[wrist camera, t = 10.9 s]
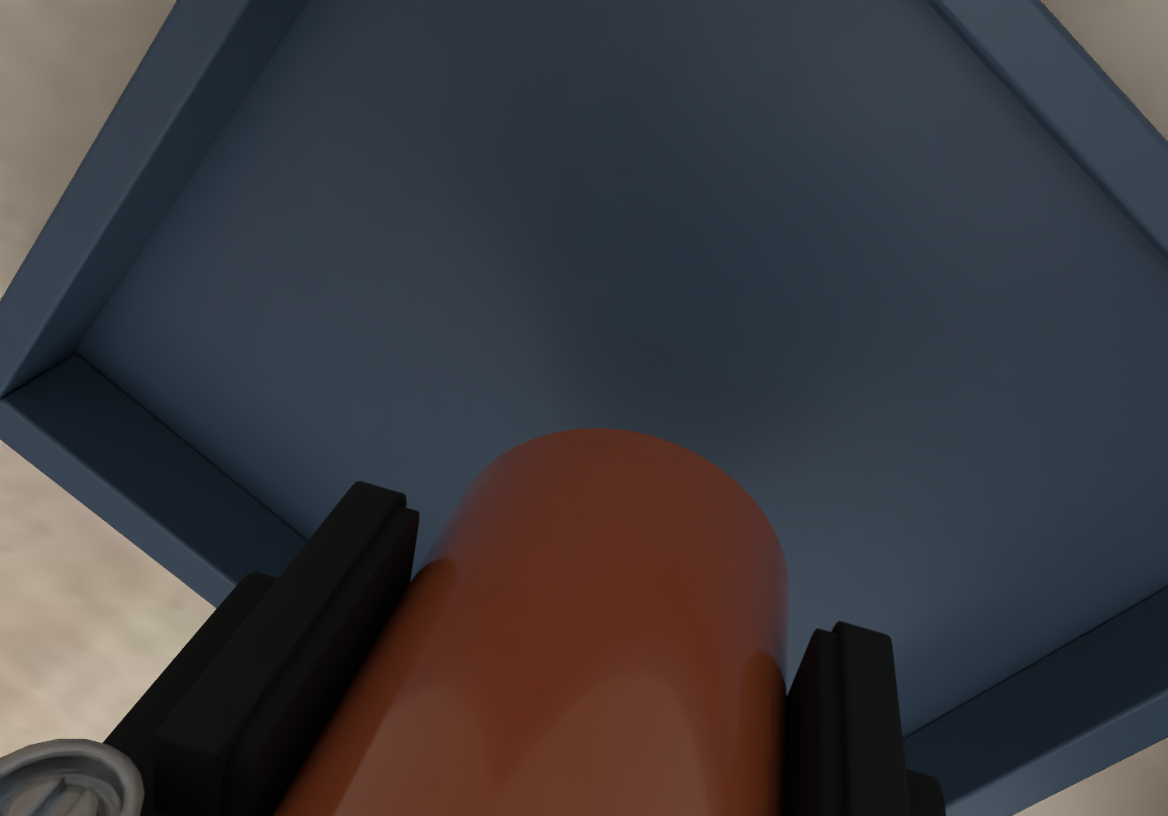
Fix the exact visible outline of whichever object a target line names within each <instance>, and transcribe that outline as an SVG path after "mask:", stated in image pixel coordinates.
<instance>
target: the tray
mask: <svg viewBox="0 0 1168 816" xmlns="http://www.w3.org/2000/svg"><path fill="white" fill-rule="evenodd" d="M580 428H611V429H621V430H630V431H634V432H639V433H643V434H648V435H652V436H655V437H658V438H661V439H664V440H667V441H670V442H673V443H676V444H678V445H680V446H682V447H684V448H686V449H688V450H691V451H693V452H695V453H697V454H699V455H700V456H702V457H703V458H705V459H707V460H708V461H710V462H711V463H713V464H715V465H716V466H718V467H719V468H720V469H722V470H723V471H724V472H725V473H726V474H728V475H729V476H730V477H731V478H733V479H734V480H735V481H736V482H737V483H738V484H739V485H740V486H741V487H742V488H743V489H744V490H745V491H746V492H747V493H748V494H749V495H750V496H751V497H752V498H753V499H754V501H755V502H756V503H757V505H758V506H759V507H760V509H761V510H762V511H763V513H764V514H765V516H766V517H767V518H768V520H769V522H770V524H771V526H772V528H773V529H774V531H775V533H776V535H777V537H778V539H779V542H780V545H781V547H782V550H783V553H784V556H785V559H786V564H787V569H788V574H789V588H790V608H789V640H788V672H787V695H788V692H789V690H790V688H791V685H792V683H793V680H794V678H795V675H796V673H797V670H798V668H799V666H800V663H801V661H802V658H803V656H804V653H805V651H806V648H807V646H808V643H809V641H810V639H811V636H812V634H813V632H814V631H815V629H817V628H819V629H823V630H826V631H830V632H831V631H832V629H833V627H834V625H835V624H836V623H837V622H838V621H843V622H846V623H849V624H853V625H856V626H860V627H863V628H867V629H870V630H873V631H877V632H880V633H884V634H887V635H889V636H890V637H891V641H892V646H893V655H894V664H895V674H896V683H897V692H898V701H899V710H900V719H901V729H902V738H903V747H904V756H905V765H906V768H907V769H910V770H914V771H917V772H920V773H924V774H927V775H930V776H933V777H936V779H937V780H938V782H939V783H940V785H941V789H942V793H943V797H944V803H945V809H946V816H1012V815H1014V814H1016V813H1018V812H1020V811H1022V810H1024V809H1026V808H1028V807H1030V806H1032V805H1034V804H1036V803H1038V802H1040V801H1042V800H1044V799H1046V798H1048V797H1050V796H1052V795H1054V794H1056V793H1058V792H1060V791H1062V790H1064V789H1066V788H1068V787H1070V786H1072V785H1074V784H1076V783H1078V782H1080V781H1082V780H1084V779H1086V778H1088V777H1090V776H1092V775H1094V774H1096V773H1098V772H1100V771H1102V770H1104V769H1106V768H1108V767H1110V766H1112V765H1114V764H1115V763H1117V762H1119V761H1121V760H1123V759H1125V758H1127V757H1129V756H1131V755H1133V754H1135V753H1137V752H1139V751H1141V750H1143V749H1145V748H1147V747H1149V746H1151V745H1153V744H1155V743H1157V742H1159V741H1161V740H1163V739H1165V738H1167V737H1168V142H1167V141H1166V140H1165V138H1164V137H1163V136H1162V135H1161V134H1160V133H1159V132H1158V131H1157V130H1156V128H1155V127H1154V126H1153V125H1152V124H1151V123H1150V122H1149V121H1148V120H1147V118H1146V117H1145V116H1144V115H1143V114H1142V113H1141V112H1140V111H1139V110H1138V108H1137V107H1136V106H1135V105H1134V104H1133V103H1132V102H1131V101H1130V100H1129V98H1128V97H1127V96H1126V95H1125V94H1124V93H1123V92H1122V91H1121V90H1120V88H1119V87H1118V86H1117V85H1116V84H1115V83H1114V82H1113V81H1112V80H1111V78H1110V77H1109V76H1108V75H1107V74H1106V73H1105V72H1104V71H1103V70H1102V68H1101V67H1100V66H1099V65H1098V64H1097V63H1096V62H1095V61H1094V60H1093V58H1092V57H1091V56H1090V55H1089V54H1088V53H1087V52H1086V51H1085V50H1084V48H1083V47H1082V46H1081V45H1080V44H1079V43H1078V42H1077V41H1076V40H1075V38H1074V37H1073V36H1072V35H1071V34H1070V33H1069V32H1068V31H1067V30H1066V28H1065V27H1064V26H1063V25H1062V24H1061V23H1060V22H1059V21H1058V20H1057V18H1056V17H1055V16H1054V15H1053V14H1052V13H1051V12H1050V11H1049V10H1048V8H1047V7H1046V6H1045V5H1044V4H1043V3H1042V2H1041V1H1040V0H177V2H176V3H175V5H174V7H173V8H172V10H171V12H170V13H169V15H168V17H167V19H166V20H165V22H164V24H163V25H162V27H161V29H160V30H159V32H158V34H157V36H156V37H155V39H154V41H153V42H152V44H151V46H150V47H149V49H148V51H147V53H146V54H145V56H144V58H143V59H142V61H141V63H140V64H139V66H138V68H137V70H136V71H135V73H134V75H133V76H132V78H131V80H130V81H129V83H128V85H127V87H126V88H125V90H124V92H123V93H122V95H121V97H120V98H119V100H118V102H117V104H116V105H115V107H114V109H113V110H112V112H111V114H110V115H109V117H108V119H107V121H106V122H105V124H104V126H103V127H102V129H101V131H100V132H99V134H98V136H97V137H96V139H95V141H94V143H93V144H92V146H91V148H90V149H89V151H88V153H87V154H86V156H85V158H84V160H83V161H82V163H81V165H80V166H79V168H78V170H77V171H76V173H75V175H74V177H73V178H72V180H71V182H70V183H69V185H68V187H67V188H66V190H65V192H64V194H63V195H62V197H61V199H60V200H59V202H58V204H57V205H56V207H55V209H54V211H53V212H52V214H51V216H50V217H49V219H48V221H47V222H46V224H45V226H44V228H43V229H42V231H41V233H40V234H39V236H38V238H37V239H36V241H35V243H34V245H33V246H32V248H31V250H30V251H29V253H28V255H27V256H26V258H25V260H24V262H23V263H22V265H21V267H20V268H19V270H18V272H17V273H16V275H15V277H14V279H13V280H12V282H11V284H10V285H9V287H8V289H7V290H6V292H5V294H4V296H3V297H2V299H1V301H0V440H2V441H3V442H4V443H6V444H7V445H8V446H9V447H11V448H12V449H13V450H15V451H16V452H17V453H18V454H20V455H21V456H22V457H23V458H25V459H26V460H27V461H29V462H30V463H31V464H32V465H34V466H35V467H36V468H38V469H39V470H40V471H41V472H43V473H44V474H45V475H47V476H48V477H49V478H50V479H52V480H53V481H54V482H55V483H57V484H58V485H59V486H61V487H62V488H63V489H64V490H66V491H67V492H68V493H70V494H71V495H72V496H73V497H75V498H76V499H77V500H78V501H80V502H81V503H82V504H84V505H85V506H86V507H87V508H89V509H90V510H91V511H93V512H94V513H95V514H96V515H98V516H99V517H100V518H102V519H103V520H104V521H105V522H107V523H108V524H109V525H110V526H112V527H113V528H114V529H116V530H117V531H118V532H119V533H121V534H122V535H123V536H125V537H126V538H127V539H128V540H130V541H131V542H132V543H134V544H135V545H136V546H137V547H139V548H140V549H141V550H142V551H144V552H145V553H146V554H148V555H149V556H150V557H151V558H153V559H154V560H155V561H157V562H158V563H159V564H160V565H162V566H163V567H164V568H166V569H167V570H168V571H169V572H171V573H172V574H173V575H174V576H176V577H177V578H178V579H180V580H181V581H182V582H183V583H185V584H186V585H187V586H189V587H190V588H191V589H192V590H194V591H195V592H196V593H198V594H199V595H200V596H201V597H203V598H204V599H205V600H206V601H208V602H209V603H210V604H212V605H213V606H214V607H215V608H218V607H219V605H220V604H221V603H222V602H223V601H224V600H225V598H226V597H227V596H228V595H229V594H230V593H231V591H232V590H233V589H234V588H235V587H236V585H237V584H238V583H239V582H240V581H241V580H242V579H243V578H244V577H245V576H246V575H248V574H250V573H252V572H255V571H257V572H260V573H263V574H267V575H270V576H273V577H277V578H279V577H280V575H281V574H282V573H283V572H284V570H285V569H286V568H287V566H288V565H289V564H290V563H291V561H292V560H293V559H294V558H295V556H296V555H297V554H298V553H299V551H300V550H301V549H302V548H303V546H304V545H305V544H306V543H307V541H308V540H309V539H310V538H311V536H312V535H313V534H314V533H315V531H316V530H317V529H318V528H319V526H320V525H321V524H322V523H323V521H324V520H325V519H326V518H327V516H328V515H329V514H330V513H331V511H332V510H333V509H334V508H335V506H336V505H337V504H338V503H339V501H340V500H341V499H342V497H343V496H344V495H345V494H346V492H347V491H348V490H349V489H350V487H351V486H352V485H353V484H354V483H355V482H356V481H363V482H366V483H370V484H373V485H377V486H380V487H383V488H387V489H390V490H394V491H397V492H401V493H404V494H405V495H406V500H407V505H406V508H410V509H413V510H417V511H418V512H419V515H420V519H419V527H418V534H417V541H416V547H415V554H414V561H413V567H412V574H411V580H412V578H413V577H414V575H415V573H416V572H417V570H418V568H419V567H420V565H421V563H422V562H423V560H424V558H425V556H426V555H427V553H428V551H429V550H430V548H431V546H432V545H433V543H434V541H435V540H436V538H437V536H438V535H439V533H440V531H441V530H442V528H443V526H444V525H445V523H446V521H447V520H448V518H449V516H450V515H451V513H452V511H453V509H454V508H455V506H456V504H457V503H458V501H459V499H460V498H461V496H462V495H463V493H464V492H465V490H466V489H467V487H468V485H469V484H470V483H471V482H472V481H473V479H474V478H475V477H476V476H477V475H478V474H479V473H480V472H481V470H482V469H484V468H485V467H486V466H487V465H489V464H490V463H491V462H492V461H493V460H495V459H496V458H497V457H499V456H500V455H502V454H504V453H505V452H507V451H509V450H510V449H512V448H514V447H515V446H518V445H520V444H522V443H525V442H527V441H529V440H532V439H534V438H537V437H541V436H544V435H548V434H552V433H555V432H559V431H566V430H573V429H580ZM410 582H411V581H410Z"/></svg>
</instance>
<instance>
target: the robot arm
mask: <svg viewBox="0 0 1168 816" xmlns="http://www.w3.org/2000/svg"><path fill="white" fill-rule="evenodd" d="M406 505H407V500H406V495H405V494H404V493H401V492H397V491H394V490H390V489H387V488H383V487H380V486H377V485H373V484H370V483H366V482H363V481H356V482H355V483H354V484H353V485H352V486H351V487H350V489H349V490H348V491H347V492H346V494H345V495H344V496H343V497H342V499H341V500H340V501H339V503H338V504H337V505H336V506H335V508H334V509H333V510H332V511H331V513H330V514H329V515H328V516H327V518H326V519H325V520H324V521H323V523H322V524H321V525H320V526H319V528H318V529H317V530H316V531H315V533H314V534H313V535H312V536H311V538H310V539H309V540H308V541H307V543H306V544H305V545H304V546H303V548H302V549H301V550H300V551H299V553H298V554H297V555H296V556H295V558H294V559H293V560H292V561H291V563H290V564H289V565H288V566H287V568H286V569H285V570H284V572H283V573H282V574H281V575H280V577H279V578H277V577H273V576H270V575H267V574H263V573H260V572H257V571H255V572H252V573H250V574H248V575H246V576H245V577H244V578H243V579H242V580H241V581H240V582H239V583H238V584H237V585H236V587H235V588H234V589H233V590H232V591H231V593H230V594H229V595H228V596H227V597H226V598H225V600H224V601H223V602H222V603H221V604H220V605H219V607H218V608H217V609H216V610H215V611H214V613H213V614H212V615H211V616H210V617H209V618H208V620H207V621H206V622H205V623H204V624H203V625H202V627H201V628H200V629H199V630H198V631H197V633H196V634H195V635H194V636H193V637H192V638H191V640H190V641H189V642H188V643H187V644H186V645H185V647H184V648H183V649H182V650H181V651H180V653H179V654H178V655H177V656H176V657H175V658H174V660H173V661H172V662H171V663H170V664H169V665H168V667H167V668H166V669H165V670H164V671H163V673H162V674H161V675H160V676H159V677H158V678H157V680H156V681H155V682H154V683H153V684H152V685H151V687H150V688H149V689H148V690H147V691H146V693H145V694H144V695H143V696H142V697H141V698H140V700H139V701H138V702H137V703H136V704H135V705H134V707H133V708H132V709H131V710H130V711H129V712H128V714H127V715H126V716H125V717H124V718H123V720H122V721H121V722H120V723H119V724H118V725H117V727H116V728H115V729H114V730H113V731H112V732H111V734H110V735H109V736H108V737H107V738H106V740H105V741H104V742H103V743H100V742H96V741H92V740H88V739H56V740H51V741H46V742H42V743H37V744H33V745H28V746H26V747H24V748H22V749H19V750H17V751H15V752H13V753H10V754H8V755H6V756H3V757H1V758H0V816H271V815H272V813H273V812H274V810H275V808H276V807H277V805H278V803H279V801H280V800H281V798H282V796H283V795H284V793H285V791H286V790H287V788H288V786H289V785H290V783H291V781H292V780H293V778H294V776H295V775H296V773H297V771H298V770H299V768H300V766H301V765H302V763H303V761H304V760H305V758H306V756H307V754H308V753H309V751H310V749H311V748H312V746H313V744H314V743H315V741H316V739H317V738H318V736H319V734H320V733H321V731H322V729H323V728H324V726H325V724H326V723H327V721H328V719H329V718H330V716H331V714H332V713H333V711H334V709H335V708H336V706H337V704H338V702H339V701H340V699H341V697H342V696H343V694H344V692H345V691H346V689H347V687H348V686H349V684H350V682H351V681H352V679H353V677H354V676H355V674H356V672H357V671H358V669H359V667H360V666H361V664H362V662H363V661H364V659H365V657H366V655H367V654H368V652H369V650H370V649H371V647H372V645H373V644H374V642H375V640H376V639H377V637H378V635H379V634H380V632H381V630H382V629H383V627H384V625H385V624H386V622H387V620H388V619H389V617H390V615H391V614H392V612H393V610H394V608H395V607H396V605H397V603H398V602H399V600H400V598H401V597H402V595H403V593H404V592H405V590H406V588H407V587H408V585H409V583H410V581H411V574H412V567H413V561H414V554H415V547H416V541H417V534H418V527H419V519H420V515H419V512H418V511H417V510H413V509H410V508H406ZM783 816H946V809H945V803H944V797H943V793H942V789H941V785H940V783H939V782H938V780H937V779H936V777H933V776H930V775H927V774H924V773H920V772H917V771H914V770H910V769H907V768H906V765H905V756H904V747H903V738H902V729H901V719H900V710H899V701H898V692H897V683H896V674H895V664H894V655H893V646H892V641H891V637H890V636H889V635H887V634H884V633H880V632H877V631H873V630H870V629H867V628H863V627H860V626H856V625H853V624H849V623H846V622H843V621H838V622H837V623H836V624H835V625H834V627H833V629H832V631H831V632H830V631H826V630H823V629H819V628H817V629H815V631H814V632H813V634H812V636H811V639H810V641H809V643H808V646H807V648H806V651H805V653H804V656H803V658H802V661H801V663H800V666H799V668H798V670H797V673H796V675H795V678H794V680H793V683H792V685H791V688H790V690H789V692H788V695H787V704H786V736H785V768H784V800H783Z"/></svg>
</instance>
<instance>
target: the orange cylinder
mask: <svg viewBox="0 0 1168 816" xmlns="http://www.w3.org/2000/svg"><path fill="white" fill-rule="evenodd" d="M789 608H790V588H789V574H788V569H787V564H786V559H785V556H784V553H783V550H782V547H781V545H780V542H779V539H778V537H777V535H776V533H775V531H774V529H773V528H772V526H771V524H770V522H769V520H768V518H767V517H766V516H765V514H764V513H763V511H762V510H761V509H760V507H759V506H758V505H757V503H756V502H755V501H754V499H753V498H752V497H751V496H750V495H749V494H748V493H747V492H746V491H745V490H744V489H743V488H742V487H741V486H740V485H739V484H738V483H737V482H736V481H735V480H734V479H733V478H731V477H730V476H729V475H728V474H726V473H725V472H724V471H723V470H722V469H720V468H719V467H718V466H716V465H715V464H713V463H711V462H710V461H708V460H707V459H705V458H703V457H702V456H700V455H699V454H697V453H695V452H693V451H691V450H688V449H686V448H684V447H682V446H680V445H678V444H676V443H673V442H670V441H667V440H664V439H661V438H658V437H655V436H652V435H648V434H643V433H639V432H634V431H630V430H621V429H611V428H580V429H573V430H566V431H559V432H555V433H552V434H548V435H544V436H541V437H537V438H534V439H532V440H529V441H527V442H525V443H522V444H520V445H518V446H515V447H514V448H512V449H510V450H509V451H507V452H505V453H504V454H502V455H500V456H499V457H497V458H496V459H495V460H493V461H492V462H491V463H490V464H489V465H487V466H486V467H485V468H484V469H482V470H481V472H480V473H479V474H478V475H477V476H476V477H475V478H474V479H473V481H472V482H471V483H470V484H469V485H468V487H467V489H466V490H465V492H464V493H463V495H462V496H461V498H460V499H459V501H458V503H457V504H456V506H455V508H454V509H453V511H452V513H451V515H450V516H449V518H448V520H447V521H446V523H445V525H444V526H443V528H442V530H441V531H440V533H439V535H438V536H437V538H436V540H435V541H434V543H433V545H432V546H431V548H430V550H429V551H428V553H427V555H426V556H425V558H424V560H423V562H422V563H421V565H420V567H419V568H418V570H417V572H416V573H415V575H414V577H413V578H412V580H411V582H410V583H409V585H408V587H407V588H406V590H405V592H404V593H403V595H402V597H401V598H400V600H399V602H398V603H397V605H396V607H395V608H394V610H393V612H392V614H391V615H390V617H389V619H388V620H387V622H386V624H385V625H384V627H383V629H382V630H381V632H380V634H379V635H378V637H377V639H376V640H375V642H374V644H373V645H372V647H371V649H370V650H369V652H368V654H367V655H366V657H365V659H364V661H363V662H362V664H361V666H360V667H359V669H358V671H357V672H356V674H355V676H354V677H353V679H352V681H351V682H350V684H349V686H348V687H347V689H346V691H345V692H344V694H343V696H342V697H341V699H340V701H339V702H338V704H337V706H336V708H335V709H334V711H333V713H332V714H331V716H330V718H329V719H328V721H327V723H326V724H325V726H324V728H323V729H322V731H321V733H320V734H319V736H318V738H317V739H316V741H315V743H314V744H313V746H312V748H311V749H310V751H309V753H308V754H307V756H306V758H305V760H304V761H303V763H302V765H301V766H300V768H299V770H298V771H297V773H296V775H295V776H294V778H293V780H292V781H291V783H290V785H289V786H288V788H287V790H286V791H285V793H284V795H283V796H282V798H281V800H280V801H279V803H278V805H277V807H276V808H275V810H274V812H273V813H272V815H271V816H783V800H784V768H785V736H786V704H787V672H788V640H789Z"/></svg>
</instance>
